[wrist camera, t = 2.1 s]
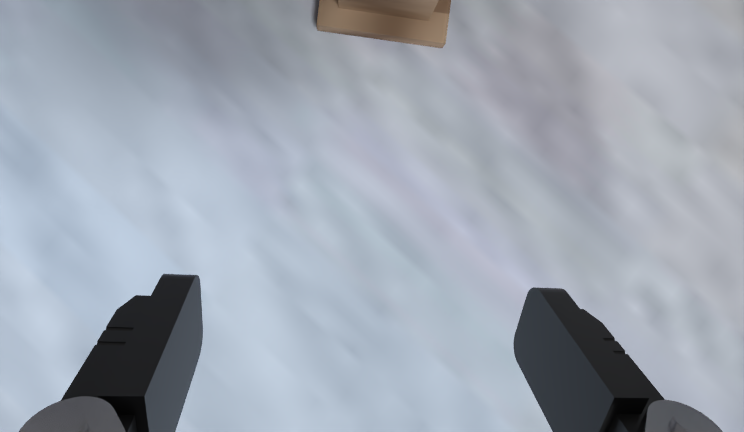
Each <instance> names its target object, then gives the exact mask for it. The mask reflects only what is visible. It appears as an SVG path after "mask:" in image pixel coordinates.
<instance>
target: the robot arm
mask: <svg viewBox="0 0 744 432" xmlns="http://www.w3.org/2000/svg"><path fill="white" fill-rule="evenodd" d="M202 337H203V325H202V307H201V288H200V279H199V276H198V275H176V274H163V275H162V276H161V278H160V280H159V282H158V284H157V285H156V287H155V289H154V291H153V293H152V295H151V296H138V295H136V296H134V297H133V298H132V299H130V300H129V301H128V302H127V303H125V304H124V305H123V306H121V307H120V308H119V309H117V310H116V312H115V314H114V315H113V317H112V318H111V320H110V322H109V323H108V325H107V327H106V330H104V331H103V333H102V335H101V336H100V338H99V340H98V341H97V345H95V346H94V348H93V349H92V351H91V353H90V354H89V356H88V357H87V359H86V361H85V362H84V364H83V366H82V367H81V369H80V370H79V372H78V374H77V375H76V377H75V378H74V380H73V382H72V383H71V385H70V387H69V388H68V390H67V391H66V393H65V395H64V396H63V398H62V400H61V401H59V402H56V403H54V404H52V405H50V406H48V407H46V408H44V409H43V410H41V411H39V412H38V413H37V414H35V415H34V416H33V417H31V418H30V419H29V420H28V421H27V422H26V423H25V424H24V426H23V427H22V428H21V429H20V431H19V432H175V430H176V427H177V424H178V421H179V418H180V415H181V412H182V409H183V406H184V403H185V399H186V396H187V393H188V390H189V387H190V384H191V381H192V378H193V375H194V372H195V368H196V365H197V362H198V359H199V356H200V352H201V346H202ZM614 339H615V338H614V337H613V336H612V334H611V333H610V332H609V331H608V330H607V328H606V327H605V326H604V325H603V323H602V322H600V321H599V320H597V319H596V318H595V317H593V316H592V315H591V314H589V313H588V312H587V311H585V310H584V309H580V308H579V307H578V306H577V305H576V303H575V302H574V301H573V299H572V298H571V297H570V296H569V294H568V293H567V292H566V291H565V290H564V289H557V288H532V289H530V290H529V292H528V294H527V297H526V300H525V303H524V307H523V310H522V313H521V316H520V320H519V323H518V326H517V329H516V333H515V336H514V353H515V357H516V360H517V362H518V364H519V366H520V368H521V370H522V372H523V374H524V376H525V378H526V380H527V382H528V384H529V386H530V388H531V390H532V392H533V394H534V396H535V398H536V400H537V402H538V404H539V406H540V407H541V409H542V411H543V413H544V415H545V417H546V419H547V421H548V423H549V425H550V427H551V429H552V431H553V432H722V430H721V429H720V428H719V427H718V426H717V425H716V424H715V423H714V422H713V421H712V420H710V419H709V418H708V417H707V416H705V415H704V414H702V413H701V412H699V411H697V410H696V409H694V408H692V407H690V406H687V405H685V404H682V403H679V402H675V401H670V400H665V399H664V398H663V397H662V396H661V395H660V393H659V392H658V391H657V390H656V388H655V387H654V386H653V385H652V384H651V382H650V381H649V380H648V379H647V377H646V376H645V375H644V374H643V372H642V371H641V370H640V369H639V368H638V366H637V365H636V364H635V363H634V361H633V360H632V359H631V358H630V357H629V355H628V354H625V350H624V349H623V348H622V347H621V345H620V344H619V343H618V342H617V341H615V340H614Z"/></svg>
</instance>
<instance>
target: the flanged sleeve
mask: <svg viewBox="0 0 744 432" xmlns="http://www.w3.org/2000/svg"><path fill="white" fill-rule="evenodd" d="M450 4H451V0H319V9H318V18H317V29H318V31H325V32H332V33H339V34H346V35H353V36H360V37H367V38H374V39H381V40H388V41H395V42H402V43H409V44H416V45H423V46H430V47H437V48H443V46H444V45H445V42H446V35H447V27H448V19H449V12H450Z"/></svg>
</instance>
